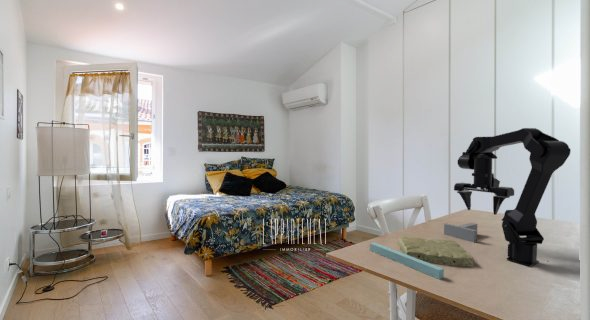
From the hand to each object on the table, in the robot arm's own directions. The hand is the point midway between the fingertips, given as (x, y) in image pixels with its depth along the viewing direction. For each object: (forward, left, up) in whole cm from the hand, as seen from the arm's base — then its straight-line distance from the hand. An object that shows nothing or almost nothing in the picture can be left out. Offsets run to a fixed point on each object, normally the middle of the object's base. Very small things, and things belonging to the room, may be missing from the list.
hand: (481, 212), depth 110 cm
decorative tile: (+3, +26, -13) cm, 29 cm away
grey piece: (+8, -5, -12) cm, 15 cm away
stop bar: (+3, +40, -12) cm, 42 cm away
